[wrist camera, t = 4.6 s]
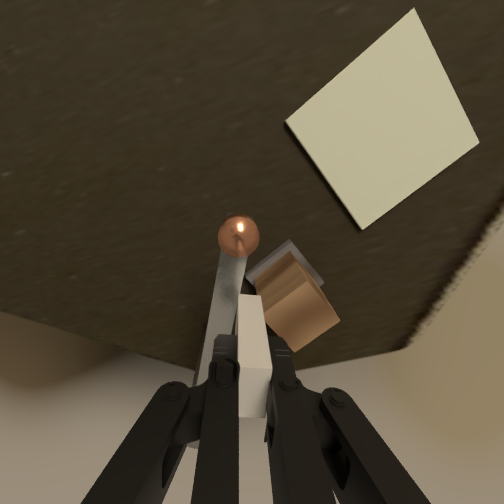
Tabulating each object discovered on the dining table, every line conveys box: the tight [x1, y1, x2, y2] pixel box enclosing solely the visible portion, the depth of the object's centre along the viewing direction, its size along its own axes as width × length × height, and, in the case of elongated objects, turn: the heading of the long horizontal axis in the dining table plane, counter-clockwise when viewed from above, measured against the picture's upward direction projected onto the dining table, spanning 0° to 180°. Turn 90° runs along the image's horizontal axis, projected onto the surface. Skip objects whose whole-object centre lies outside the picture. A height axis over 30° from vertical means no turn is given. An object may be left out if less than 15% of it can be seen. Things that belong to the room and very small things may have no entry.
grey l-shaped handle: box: [187, 213, 259, 449], centre depth 24 cm, size 2×19×15 cm, turn 168°
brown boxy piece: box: [245, 239, 340, 352], centre depth 28 cm, size 6×6×9 cm
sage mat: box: [285, 8, 479, 230], centre depth 27 cm, size 14×14×1 cm
